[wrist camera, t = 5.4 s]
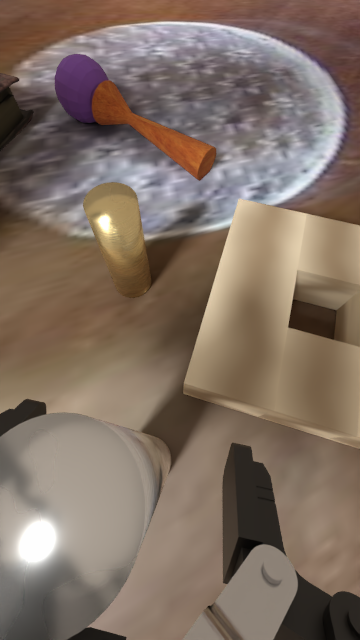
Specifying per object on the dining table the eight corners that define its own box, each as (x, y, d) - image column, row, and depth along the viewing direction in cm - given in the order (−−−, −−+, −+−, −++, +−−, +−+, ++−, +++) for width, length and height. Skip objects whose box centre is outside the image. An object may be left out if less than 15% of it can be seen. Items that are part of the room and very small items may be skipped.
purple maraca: (188, 163, 26) (32, 67, 29) (189, 203, 32) (59, 120, 35) (226, 118, 27) (70, 30, 30) (220, 165, 32) (90, 87, 36)
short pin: (109, 292, 25) (73, 215, 16) (123, 262, 26) (96, 177, 18) (144, 301, 24) (125, 228, 16) (156, 271, 25) (145, 188, 17)
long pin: (117, 478, 19) (-100, 598, 4) (134, 429, 20) (12, 391, 5) (162, 494, 18) (97, 688, 4) (177, 443, 20) (170, 443, 5)
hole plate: (182, 393, 21) (183, 383, 17) (230, 231, 27) (239, 198, 24) (408, 464, 19) (462, 468, 16) (405, 273, 25) (443, 244, 22)
